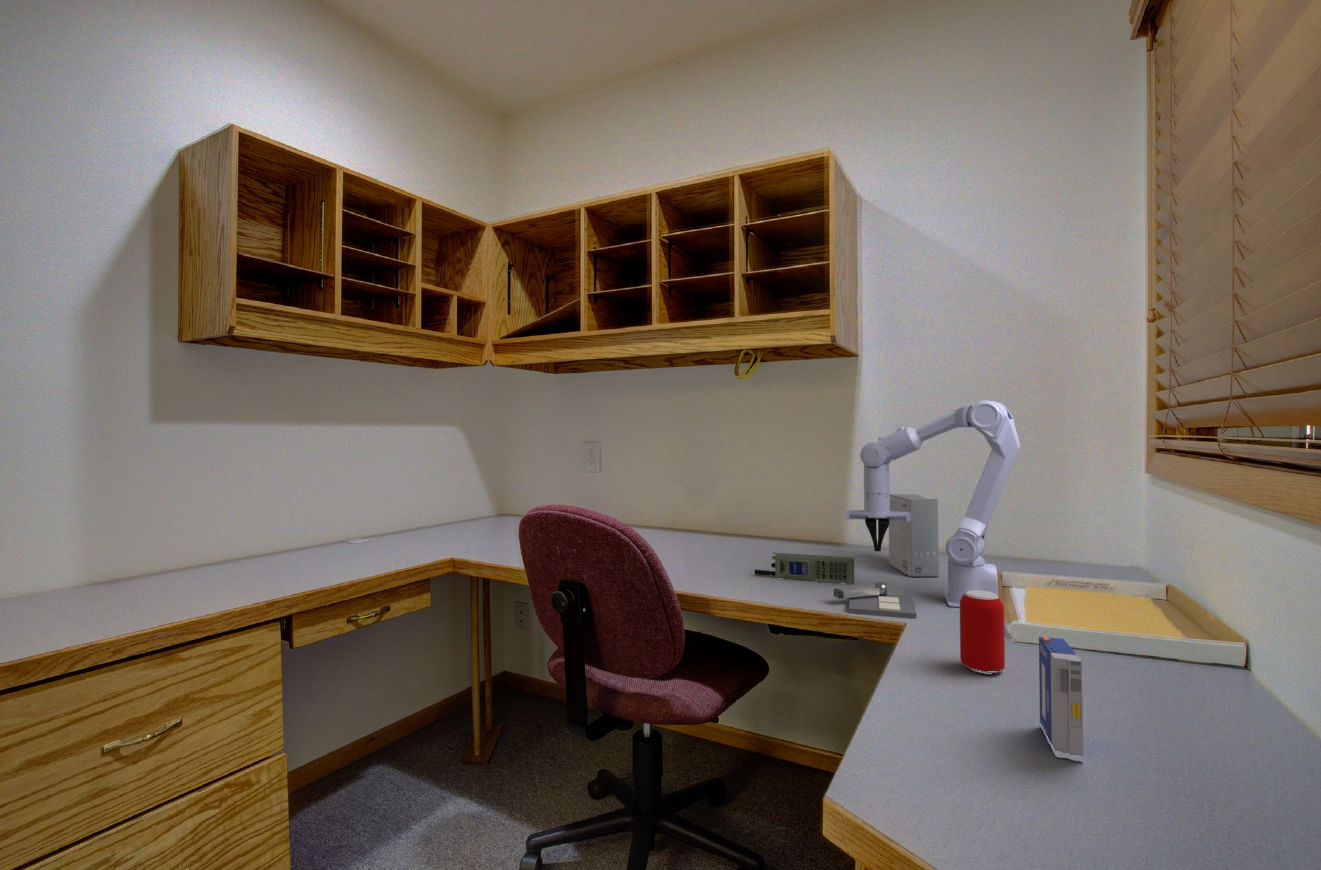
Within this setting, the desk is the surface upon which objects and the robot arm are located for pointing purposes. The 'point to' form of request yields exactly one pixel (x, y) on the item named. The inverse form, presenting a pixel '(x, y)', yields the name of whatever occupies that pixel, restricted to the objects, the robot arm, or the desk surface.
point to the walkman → (1061, 695)
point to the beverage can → (982, 631)
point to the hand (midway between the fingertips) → (877, 550)
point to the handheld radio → (812, 568)
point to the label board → (883, 605)
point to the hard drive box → (914, 536)
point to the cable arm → (861, 591)
